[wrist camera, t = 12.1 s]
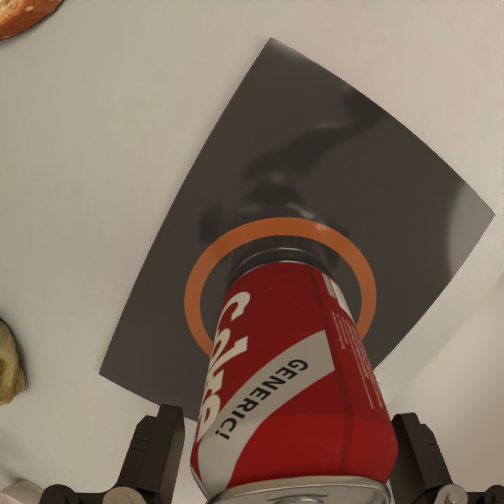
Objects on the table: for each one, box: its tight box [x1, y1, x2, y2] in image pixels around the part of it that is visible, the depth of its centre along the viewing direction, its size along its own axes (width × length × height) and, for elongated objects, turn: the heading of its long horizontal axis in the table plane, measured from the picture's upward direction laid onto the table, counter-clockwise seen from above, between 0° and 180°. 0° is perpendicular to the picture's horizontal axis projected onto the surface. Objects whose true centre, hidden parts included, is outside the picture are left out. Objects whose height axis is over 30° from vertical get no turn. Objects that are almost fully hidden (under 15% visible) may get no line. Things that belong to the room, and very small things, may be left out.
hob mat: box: [99, 38, 495, 422], centre depth 18 cm, size 24×16×1 cm, turn 149°
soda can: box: [190, 260, 398, 504], centre depth 12 cm, size 7×7×12 cm
